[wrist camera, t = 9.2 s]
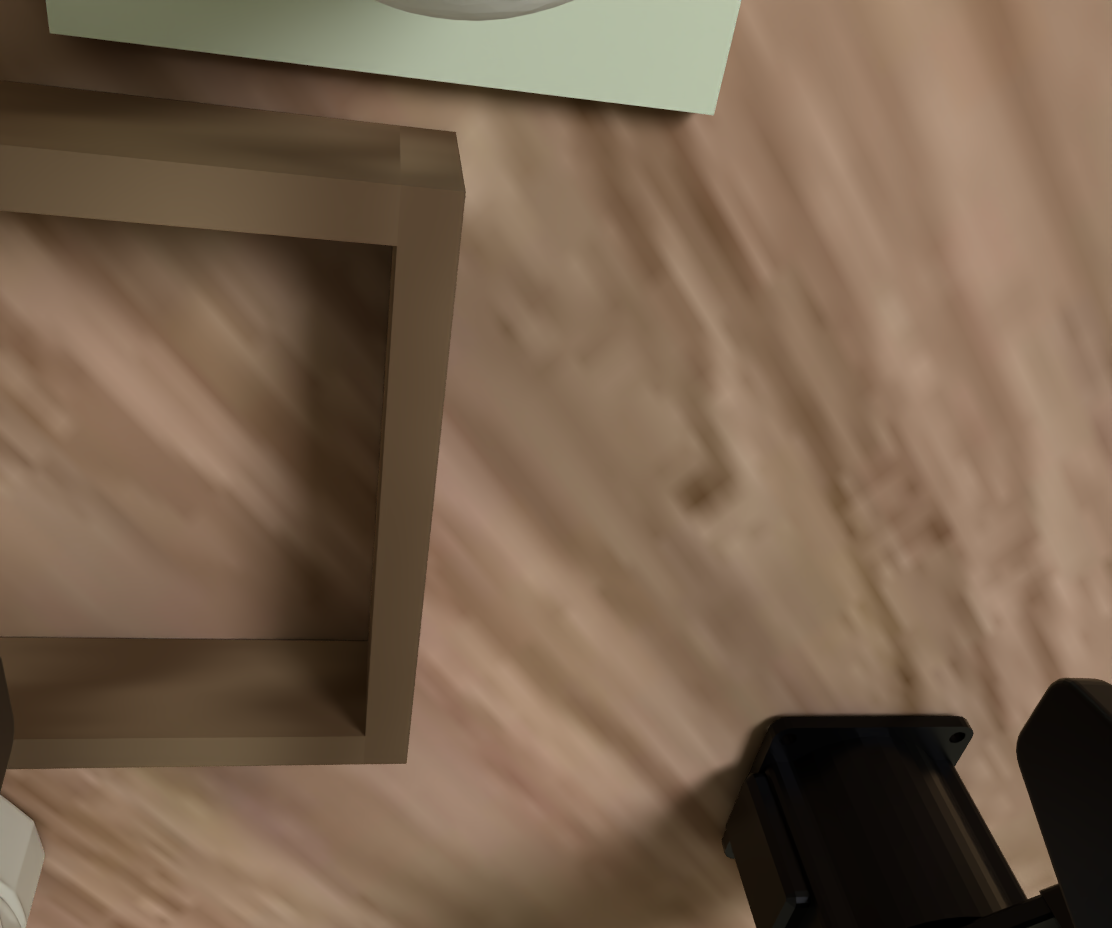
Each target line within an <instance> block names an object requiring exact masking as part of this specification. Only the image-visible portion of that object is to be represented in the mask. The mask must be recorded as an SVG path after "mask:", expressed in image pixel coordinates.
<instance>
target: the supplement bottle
mask: <svg viewBox="0 0 1112 928" xmlns="http://www.w3.org/2000/svg"><path fill="white" fill-rule="evenodd" d="M374 1H377V2H380V3H382V4H385V5H387V6H390V7H393V8H395V9H399V10H402V11H405V12H409V13H413V14H418V15H423V16H429V17H435V18H442V19H450V20H467V21H485V20H497V19H508V18H513V17H518V16H523V15H528V14H532V13H536V12H540V11H543V10H547V9H551V8H554V7H557V6H560V5H563V4H565V3H568V2H571V1H574V0H374Z"/></svg>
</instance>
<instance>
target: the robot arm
mask: <svg viewBox="0 0 1112 928" xmlns="http://www.w3.org/2000/svg"><path fill="white" fill-rule="evenodd" d="M972 736H973V730H972V728H971V727H970V725H969V723H968V722H967V720H966V719H965V718H963V717H959V716H907V717H786V718H781V719H779V720H776V721H775V722H774V723H772V724H771V725H770V727H769V728H768V730H767V733H766V735H765V738H764V740H763V742H762V745H761V747H760V750H759V752H758V754H757V757H756V759H755V762H754V764H753V766H752V769H751V771H750V774H749V776H748V777H747V778H746V780H745V781H744V783H743V786H742V788H741V791H740V793H739V795H738V798H737V800H736V803H735V805H734V807H733V810H732V812H731V815H730V817H729V819H728V822H727V824H726V831H725V833H724V836H723V838H722V845H723V849H724V852H725V854H726V856H727V857H729V858H733V859H735V860H736V864H737V867H738V870H739V873H740V877H741V880H742V883H743V886H744V890H745V893H746V896H747V899H748V902H749V906H750V909H751V912H752V915H753V919H754V922H755V925H756V928H1112V685H1111V684H1109V683H1107V682H1105V681H1103V680H1099V679H1089V678H1061V679H1058V680H1057V681H1055V682H1053V683H1052V684H1051V685H1050V686H1049V688H1048V689H1047V691H1046V692H1045V694H1044V695H1043V697H1042V698H1041V700H1040V702H1039V703H1038V705H1037V706H1036V708H1035V710H1034V711H1033V713H1032V714H1031V716H1030V718H1029V719H1028V721H1027V722H1026V724H1025V726H1024V727H1023V729H1022V730H1021V732H1020V734H1019V736H1018V740H1017V746H1016V753H1017V760H1018V764H1019V767H1020V770H1021V773H1022V776H1023V779H1024V782H1025V785H1026V788H1027V791H1028V794H1029V797H1030V800H1031V803H1032V806H1033V809H1034V812H1035V815H1036V818H1037V821H1038V824H1039V827H1040V830H1041V833H1042V836H1043V839H1044V842H1045V845H1046V848H1047V851H1048V854H1049V856H1050V859H1051V862H1052V865H1053V868H1054V871H1055V874H1056V877H1057V880H1058V884H1056V885H1053V886H1050V887H1048V888H1045V889H1043V890H1040V891H1039V892H1040V894H1041V895H1038V896H1035V897H1033V898H1030V899H1027V897H1026V895H1025V893H1024V892H1023V890H1022V888H1021V886H1020V884H1019V883H1018V881H1017V879H1016V877H1015V875H1014V873H1013V872H1012V870H1011V868H1010V866H1009V864H1008V863H1007V861H1006V859H1005V857H1004V855H1003V854H1002V852H1001V850H1000V848H999V846H998V845H997V843H996V841H995V839H994V837H993V836H992V834H991V832H990V830H989V828H988V827H987V825H986V823H985V821H984V819H983V818H982V816H981V814H980V812H979V810H978V809H977V807H976V805H975V803H974V801H973V799H972V798H971V796H970V794H969V792H968V790H967V789H966V787H965V785H964V783H963V781H962V780H961V778H960V776H959V774H958V772H957V771H956V769H955V765H956V763H957V762H958V760H959V758H960V757H961V755H962V753H963V752H964V750H965V748H966V747H967V745H968V743H969V742H970V740H971V738H972ZM13 740H14V717H13V712H12V707H11V702H10V697H9V692H8V687H7V682H6V677H5V673H4V668H3V663H2V659H1V657H0V791H1V788H2V784H3V780H4V777H5V773H6V769H7V766H8V762H9V758H10V755H11V750H12V746H13Z"/></svg>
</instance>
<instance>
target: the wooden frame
mask: <svg viewBox="0 0 1112 928" xmlns="http://www.w3.org/2000/svg"><path fill="white" fill-rule="evenodd" d="M465 193H466V191H465V185H464V179H463V173H462V167H461V161H460V155H459V149H458V143H457V137H456V132H449V131H441V130H432V129H423V128H414V127H406V126H397V125H388V124H379V123H370V122H362V121H353V120H344V119H335V118H326V117H318V116H309V115H300V114H291V113H282V112H274V111H265V110H256V109H247V108H238V107H230V106H221V105H212V104H203V103H194V102H186V101H177V100H168V99H159V98H150V97H142V96H133V95H124V94H115V93H107V92H98V91H89V90H80V89H71V88H63V87H54V86H45V85H36V84H27V83H19V82H10V81H1V80H0V211H11V212H22V213H33V214H45V215H56V216H67V217H78V218H89V219H100V220H111V221H123V222H134V223H145V224H156V225H167V226H178V227H190V228H201V229H212V230H223V231H234V232H245V233H257V234H268V235H279V236H290V237H301V238H312V239H323V240H335V241H346V242H357V243H368V244H379V245H390V246H392V260H391V276H390V293H389V309H388V325H387V341H386V357H385V374H384V390H383V406H382V422H381V438H380V455H379V471H378V487H377V503H376V519H375V535H374V552H373V568H372V584H371V600H370V616H369V633H368V641H311V640H216V639H122V638H27V637H0V657H1V659H2V663H3V668H4V673H5V677H6V682H7V687H8V692H9V697H10V702H11V707H12V712H13V717H14V740H13V746H12V750H11V755H10V758H9V762H8V766H7V769H52V768H124V767H196V766H268V765H340V764H406V763H407V753H408V744H409V734H410V724H411V715H412V705H413V695H414V686H415V676H416V666H417V657H418V647H419V637H420V628H421V618H422V608H423V599H424V589H425V579H426V570H427V560H428V551H429V541H430V531H431V522H432V512H433V502H434V493H435V483H436V473H437V464H438V454H439V444H440V435H441V425H442V415H443V406H444V396H445V386H446V377H447V367H448V357H449V348H450V338H451V328H452V319H453V309H454V299H455V290H456V280H457V270H458V261H459V251H460V241H461V232H462V222H463V212H464V203H465Z"/></svg>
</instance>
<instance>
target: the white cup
mask: <svg viewBox="0 0 1112 928" xmlns="http://www.w3.org/2000/svg"><path fill="white" fill-rule="evenodd" d="M44 858H45V852H44V849H43V846H42V843H41V840H40V837H39V835H38V832H37V829H36V826H35V823H34V821H33V820H32V819H31V818H30V817H29V816H27V815H26V814H25V813H23V812H22V811H21V810H20V809H18V808H17V807H16V806H15V805H13V804H12V803H11V802H10V801H8V800H7V799H6V798H4V797H3V796H2V795H1V794H0V928H26V925H27V921H28V917H29V914H30V910H31V907H32V903H33V899H34V895H35V892H36V888H37V884H38V881H39V877H40V873H41V870H42V866H43V862H44Z"/></svg>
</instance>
